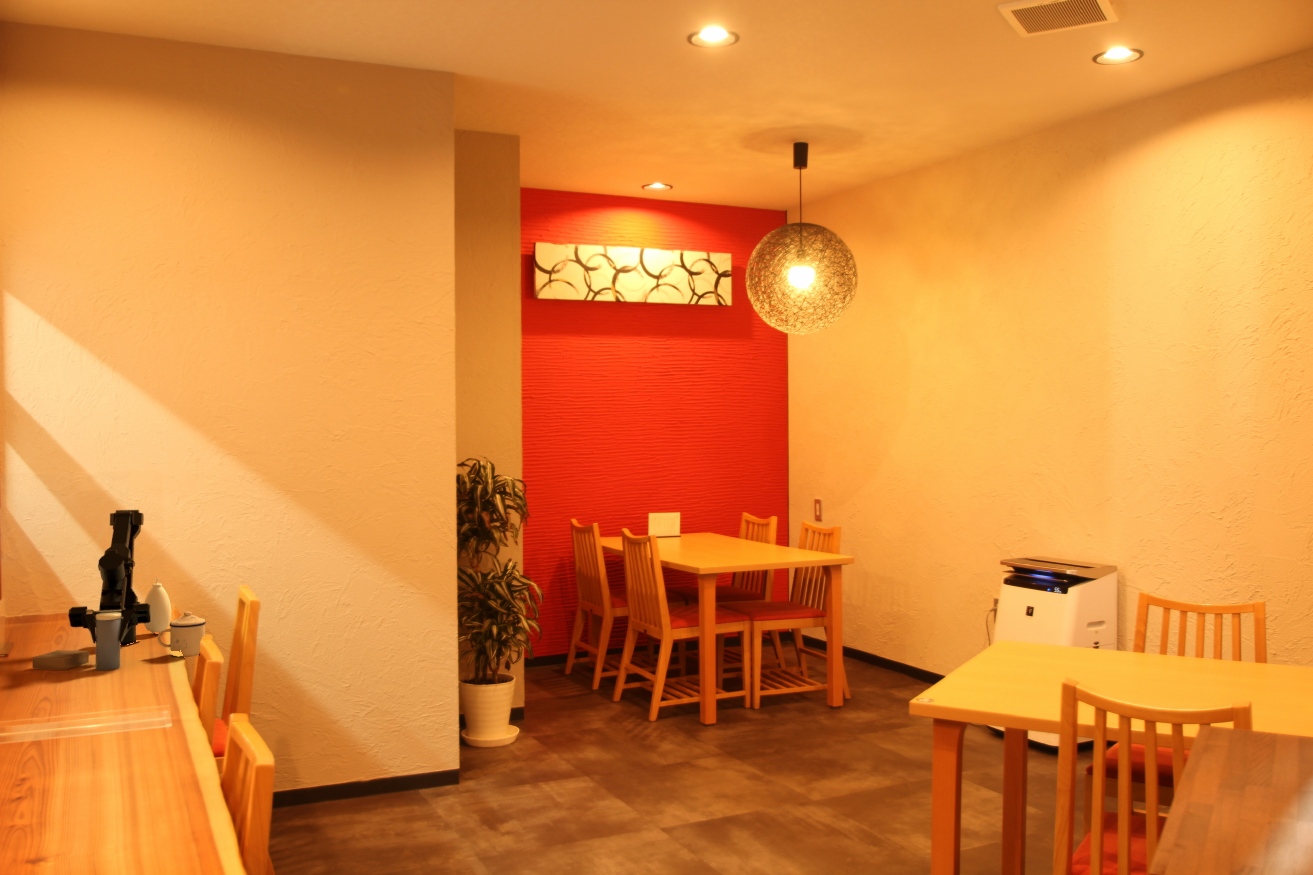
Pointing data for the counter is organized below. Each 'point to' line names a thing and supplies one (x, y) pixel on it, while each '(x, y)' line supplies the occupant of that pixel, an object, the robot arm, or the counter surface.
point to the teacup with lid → (185, 634)
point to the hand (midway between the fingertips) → (107, 641)
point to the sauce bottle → (158, 608)
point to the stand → (60, 660)
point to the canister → (108, 641)
